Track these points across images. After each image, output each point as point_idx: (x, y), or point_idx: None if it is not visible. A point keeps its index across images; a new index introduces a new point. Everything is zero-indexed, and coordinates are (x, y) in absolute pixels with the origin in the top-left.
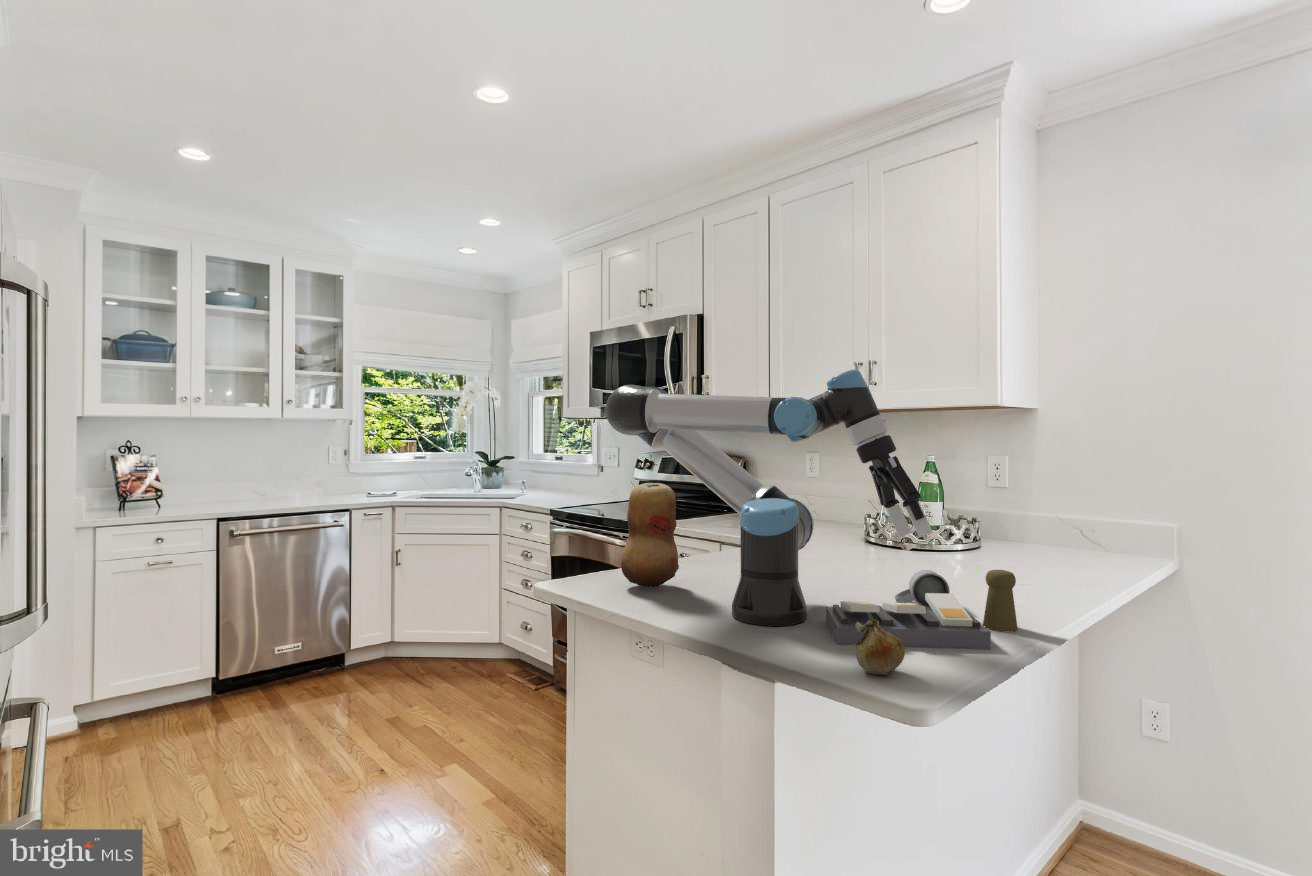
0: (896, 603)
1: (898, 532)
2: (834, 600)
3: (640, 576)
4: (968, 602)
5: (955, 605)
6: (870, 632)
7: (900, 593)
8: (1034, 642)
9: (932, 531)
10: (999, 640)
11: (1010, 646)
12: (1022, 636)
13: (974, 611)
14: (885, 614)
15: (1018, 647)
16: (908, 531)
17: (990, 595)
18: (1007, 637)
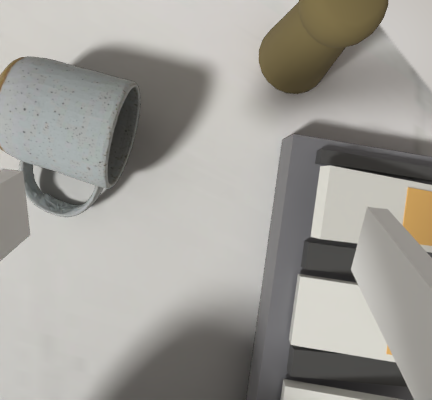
0: (329, 322)
1: (15, 243)
2: (25, 375)
3: None
4: (60, 4)
5: (389, 191)
6: None
7: (27, 188)
8: (397, 50)
9: (388, 211)
10: (382, 115)
11: (419, 115)
12: (358, 50)
13: (155, 40)
14: (372, 363)
15: (425, 103)
16: (18, 187)
17: (328, 56)
18: (364, 86)
